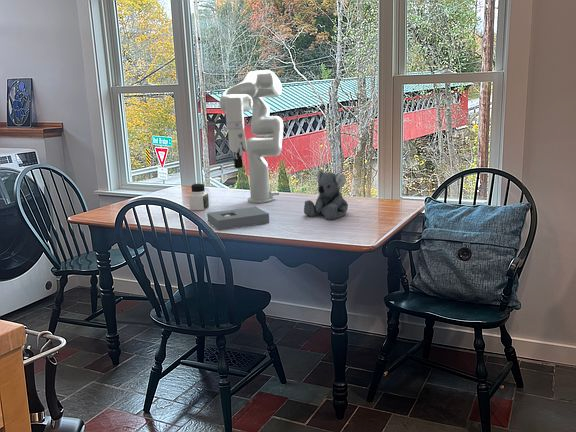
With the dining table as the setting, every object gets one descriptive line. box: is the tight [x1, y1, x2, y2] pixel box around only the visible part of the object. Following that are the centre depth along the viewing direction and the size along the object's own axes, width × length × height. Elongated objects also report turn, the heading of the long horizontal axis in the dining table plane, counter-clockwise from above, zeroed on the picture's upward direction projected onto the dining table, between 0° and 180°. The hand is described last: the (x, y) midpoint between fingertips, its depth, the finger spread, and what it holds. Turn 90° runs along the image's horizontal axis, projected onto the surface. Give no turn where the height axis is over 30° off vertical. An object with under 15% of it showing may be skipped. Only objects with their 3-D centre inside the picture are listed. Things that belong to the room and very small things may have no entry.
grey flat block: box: [206, 206, 270, 231], centre depth 242 cm, size 22×16×4 cm
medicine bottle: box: [188, 182, 210, 211], centre depth 271 cm, size 7×7×12 cm
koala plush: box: [303, 169, 349, 221], centre depth 247 cm, size 17×18×20 cm
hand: (238, 167), depth 250 cm, fingers closed
